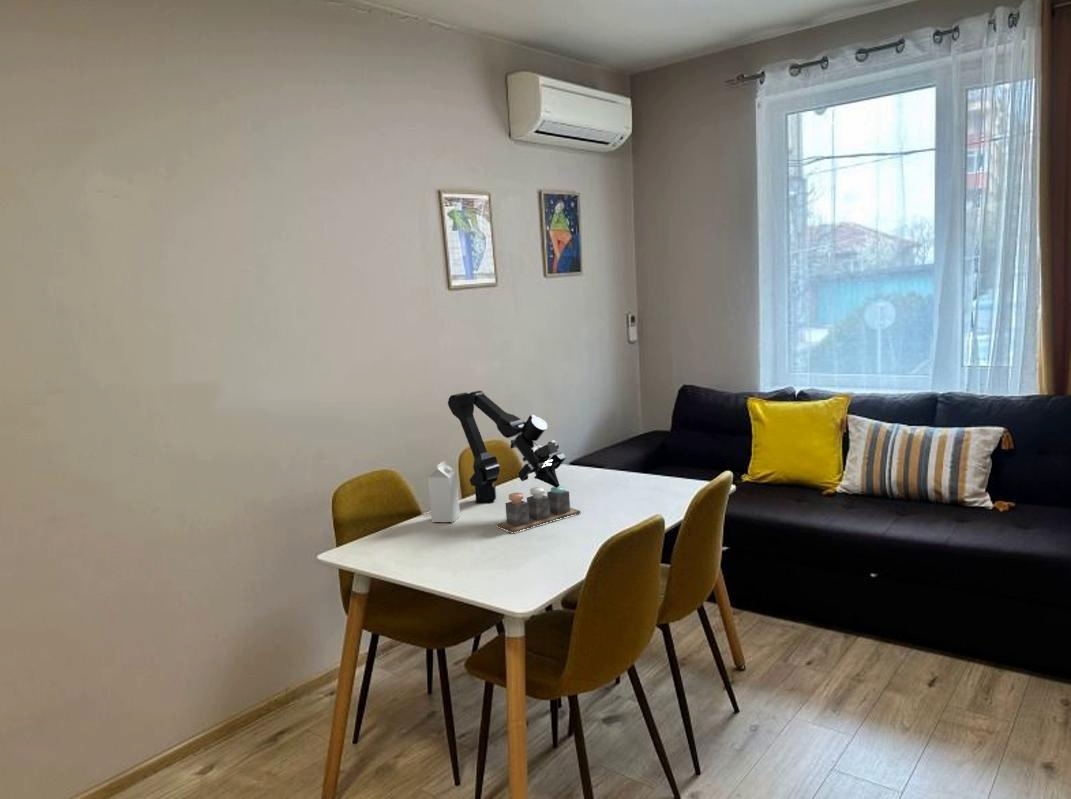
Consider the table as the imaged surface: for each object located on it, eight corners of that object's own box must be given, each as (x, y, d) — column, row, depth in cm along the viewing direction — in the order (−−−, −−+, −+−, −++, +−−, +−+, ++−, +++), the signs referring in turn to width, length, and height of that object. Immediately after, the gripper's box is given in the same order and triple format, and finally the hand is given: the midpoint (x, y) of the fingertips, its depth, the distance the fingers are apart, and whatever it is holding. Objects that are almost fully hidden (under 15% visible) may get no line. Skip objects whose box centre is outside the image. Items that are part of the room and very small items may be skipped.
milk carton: (431, 523, 231) (426, 465, 228) (439, 516, 238) (434, 460, 235) (452, 523, 229) (447, 465, 226) (460, 516, 236) (455, 460, 233)
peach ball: (514, 509, 218) (513, 497, 217) (506, 506, 222) (505, 494, 221) (526, 505, 221) (525, 494, 220) (518, 503, 224) (517, 491, 224)
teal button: (557, 502, 227) (556, 490, 227) (548, 499, 231) (548, 488, 230) (568, 498, 230) (567, 488, 229) (559, 496, 233) (558, 485, 233)
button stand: (513, 533, 215) (511, 509, 214) (496, 527, 223) (495, 503, 222) (580, 513, 230) (579, 491, 229) (563, 508, 238) (561, 486, 236)
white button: (536, 503, 223) (535, 492, 222) (528, 500, 226) (527, 489, 226) (547, 500, 225) (547, 489, 224) (539, 497, 229) (538, 486, 228)
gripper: (522, 439, 224) (552, 478, 218) (559, 428, 237) (588, 464, 232) (505, 461, 230) (534, 500, 224) (543, 449, 244) (571, 485, 238)
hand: (558, 486), depth 229 cm, fingers closed
